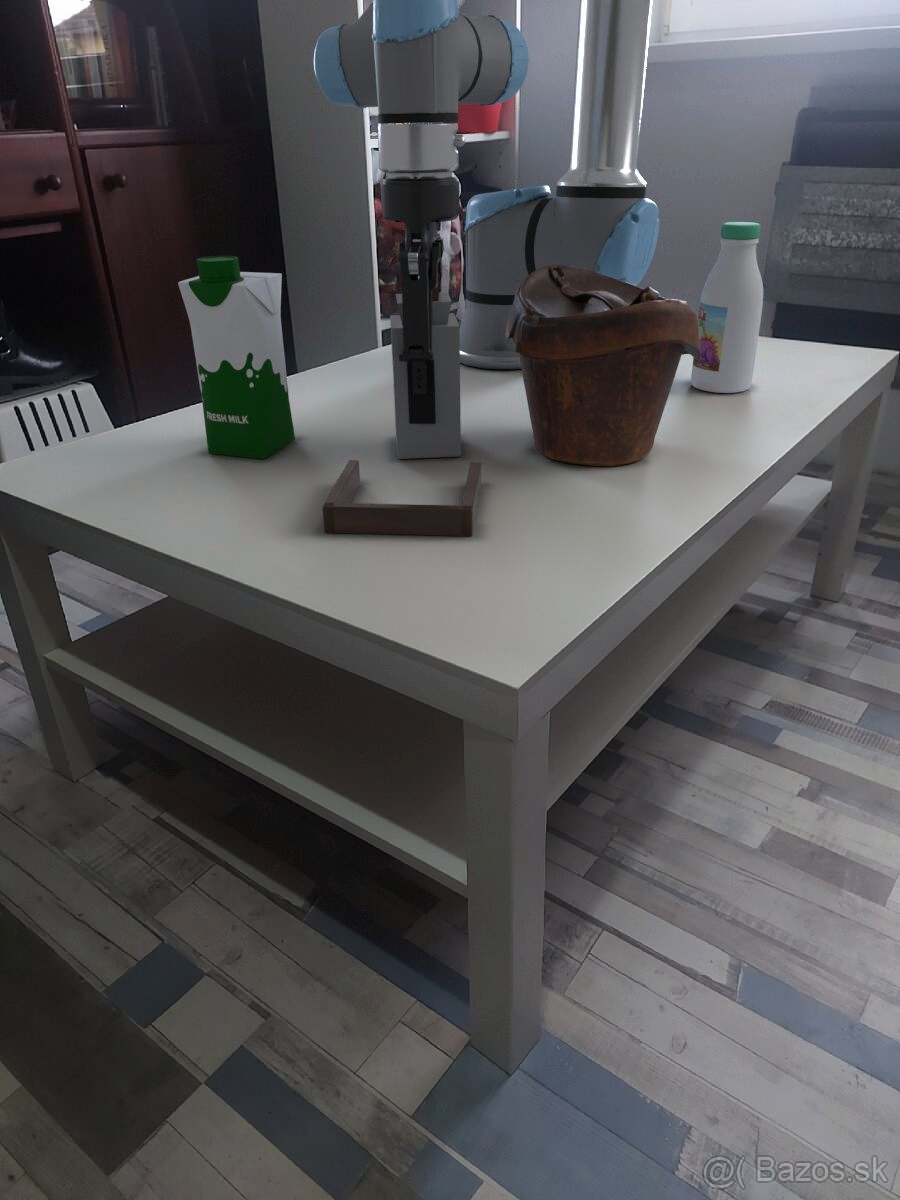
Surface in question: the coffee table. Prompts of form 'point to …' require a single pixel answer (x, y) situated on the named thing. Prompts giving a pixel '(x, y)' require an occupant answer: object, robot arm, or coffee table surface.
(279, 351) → the milk carton
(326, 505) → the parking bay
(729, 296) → the milk bottle
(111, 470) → the coffee table surface
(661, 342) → the case
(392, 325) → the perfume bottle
